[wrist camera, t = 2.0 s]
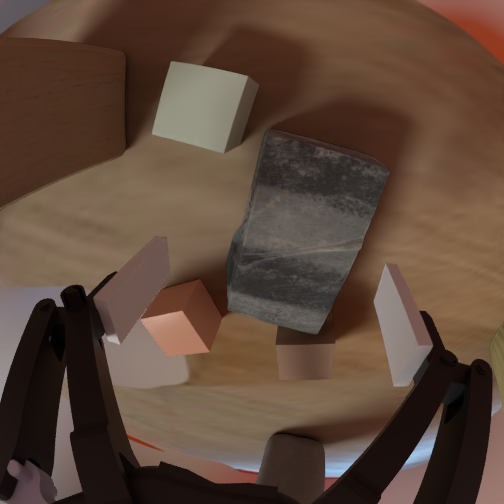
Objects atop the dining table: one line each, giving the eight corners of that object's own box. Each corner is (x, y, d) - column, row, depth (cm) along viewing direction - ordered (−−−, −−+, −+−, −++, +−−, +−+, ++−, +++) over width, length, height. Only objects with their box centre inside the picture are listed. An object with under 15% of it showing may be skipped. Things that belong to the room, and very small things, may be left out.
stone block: (225, 277, 27) (209, 311, 22) (260, 121, 20) (247, 123, 15) (315, 302, 26) (316, 340, 22) (372, 155, 19) (392, 168, 15)
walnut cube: (283, 343, 29) (279, 379, 25) (280, 308, 27) (275, 344, 23) (329, 342, 28) (331, 379, 24) (331, 306, 26) (335, 343, 22)
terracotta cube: (183, 324, 30) (167, 356, 26) (161, 289, 28) (140, 319, 24) (222, 317, 29) (209, 351, 24) (200, 278, 27) (182, 310, 23)
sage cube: (181, 128, 20) (151, 134, 16) (198, 70, 18) (171, 61, 14) (240, 144, 21) (223, 153, 16) (259, 85, 18) (248, 76, 14)
